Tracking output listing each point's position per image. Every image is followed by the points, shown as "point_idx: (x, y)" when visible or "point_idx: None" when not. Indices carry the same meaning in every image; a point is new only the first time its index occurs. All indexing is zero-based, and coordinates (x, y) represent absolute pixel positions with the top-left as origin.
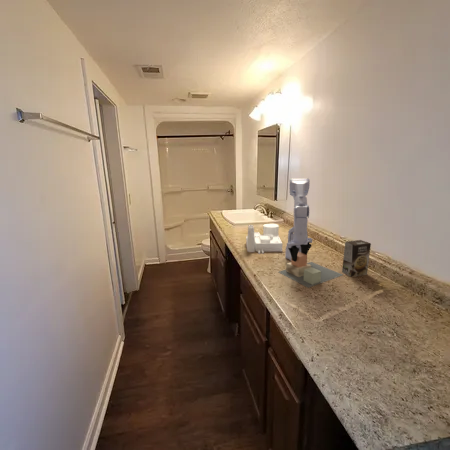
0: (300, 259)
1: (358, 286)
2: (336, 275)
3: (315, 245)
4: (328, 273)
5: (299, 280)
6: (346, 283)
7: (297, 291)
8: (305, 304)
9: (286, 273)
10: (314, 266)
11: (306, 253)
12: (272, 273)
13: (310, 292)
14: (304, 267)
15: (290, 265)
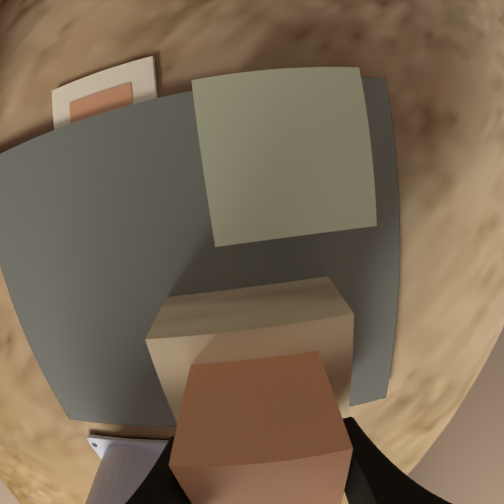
0: (316, 420)
1: (21, 20)
2: (15, 169)
3: (10, 477)
4: (41, 224)
5: None
6: (37, 65)
7: (449, 113)
8: (470, 2)
9: (358, 364)
10: (76, 368)
11: (158, 488)
12: (398, 398)
13: (383, 50)
14: (259, 326)
15: (348, 407)
